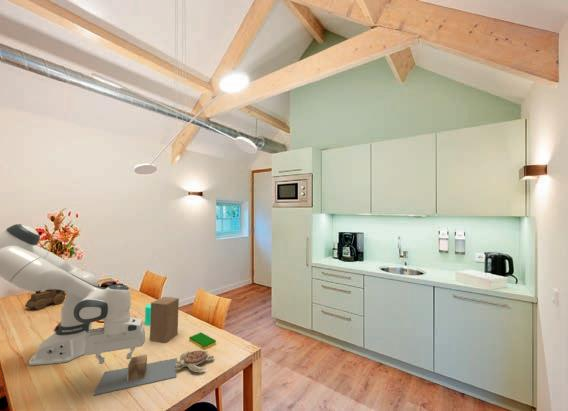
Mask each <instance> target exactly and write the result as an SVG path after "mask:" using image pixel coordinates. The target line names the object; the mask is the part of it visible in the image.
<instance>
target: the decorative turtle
mask: <svg viewBox="0 0 568 411" xmlns="http://www.w3.org/2000/svg"><path fill="white" fill-rule="evenodd" d="M208 352H209V350H193V351H189V350H187V351H185V352H183V353H182V354H180V356H179V359H180V361H177V363H176V365H175V368H177V369H182V368H183V367H187V368H188V369H189V370H190V371H192V372H195V373H199V372H202V371H205V370H206V369H207V368H206V366H199V365H200V364H202V363H203V362H205V361H211V360H213V359H214V358H215V356H214V355H208V354H207V353H208Z"/></svg>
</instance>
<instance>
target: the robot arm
mask: <svg viewBox="0 0 568 411" xmlns="http://www.w3.org/2000/svg"><path fill="white" fill-rule="evenodd" d="M40 240H41V236H40V234H39V233H38V231H37V230H36V229H35V228H33V227H32V226H29V225H26V224H21V223H19V224H17V223H16V224H14V225H11V226H9V227H7V228H6V230H4V231H2V232H1V233H0V278H2V279H4V280H6V281H7V282H8V283H11V285H14V286H16V287H17V288H20V289H23V290H24V291H28V292H35V291H41V292H42V291H46V290H50V289H58V290H63V291H65V299H64V301H63V305H62V307H61V312H60V314H61V315H60V322H58V323H57V325H56V326H55V327H54V329H53V334H52V335H50V336H49V337H48V338H46V339H45V340H44V341H42V343H41V344H39V346H38V348H37V351H36V353H35V354H33V355H32V356H31V357H30V359H29V360H28V366H39V365H49V364H51V365H52V364H63V363H67V362H70V361H72V360H73V359H76V358H79V357H81V356H84V355H86V356H91V355H95V358H96V359H97V360H98V365H102V364H104V363H105V357H104V356H102V354H104V353H110V352H115V351H120V350H121V351H122V350H127V349H130V352H127V354H126V360H130V359H131V357H133V352H134V351H135V349H136V348H139V347H142V346H144V345H145V341H146V331H145V327H144V326H143V319H142V318H137V317H131V313H130V309H131V305H132V304H131V302H132V299H131V290H130V287H128V286H127V285H125V284H118V283H117V284H111V285H109V286H107V287H102V286H101V287H100V286H99V280H98V278H97V276H96V274H94V273H92V272H91V271H90V272H89V271H87V270H84V269H83V268H82V269H81V268H80V267H78V266H76V265H74V264H73V263H70V262H69V261H68V260H66V259H64V258H63V257H60V256H59V255H56V254H55V253H54V252H51V251H49V250H47V249H46V248H43V247H41V246H38V244H39V241H40ZM101 320H103V327H97V328H92V325H93V324H92V323H95V322H99V321H101Z"/></svg>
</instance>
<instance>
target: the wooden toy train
mask: <svg viewBox="0 0 568 411" xmlns="http://www.w3.org/2000/svg"><path fill="white" fill-rule="evenodd" d="M34 292H35V293H32V294H31V295H30V298H29V299H28V300H27V301H26V304H24V307H25V308H28V309H35V310H38V311H39V310H41V311H42V310H43V309H44V308H45V307H46V306H47V305H49V304H51V303H52V304H54V305H55V306H57V305H60V304H62V303H64V302H65V298H66V291H63V290H58V289H50V290H41V291H34Z"/></svg>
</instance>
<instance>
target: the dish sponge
mask: <svg viewBox="0 0 568 411" xmlns="http://www.w3.org/2000/svg"><path fill="white" fill-rule="evenodd" d="M188 339H189V342H190V343H192V344H194V346H196V347H199V348H200V349H202V351H206V350H207V349H209V348H211V347H214V346H215V345H216V344H217V341H216V339H214V338H212V337H210V336H209V335H207V334H205V333H203V332H199V333H196V334H193V335H191V336H189V337H188Z"/></svg>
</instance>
